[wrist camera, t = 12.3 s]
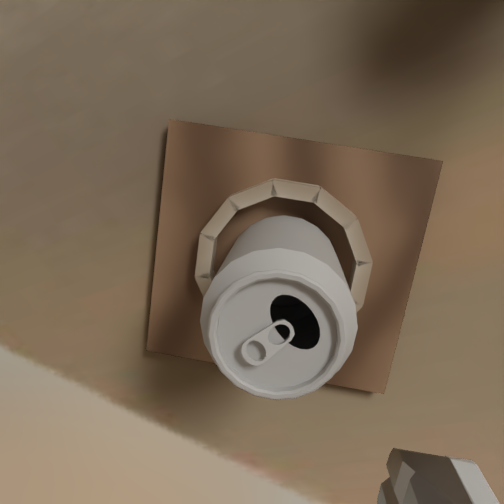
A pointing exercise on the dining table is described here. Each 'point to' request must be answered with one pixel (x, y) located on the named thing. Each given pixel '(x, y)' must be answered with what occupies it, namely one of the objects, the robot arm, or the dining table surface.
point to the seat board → (295, 205)
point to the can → (279, 310)
